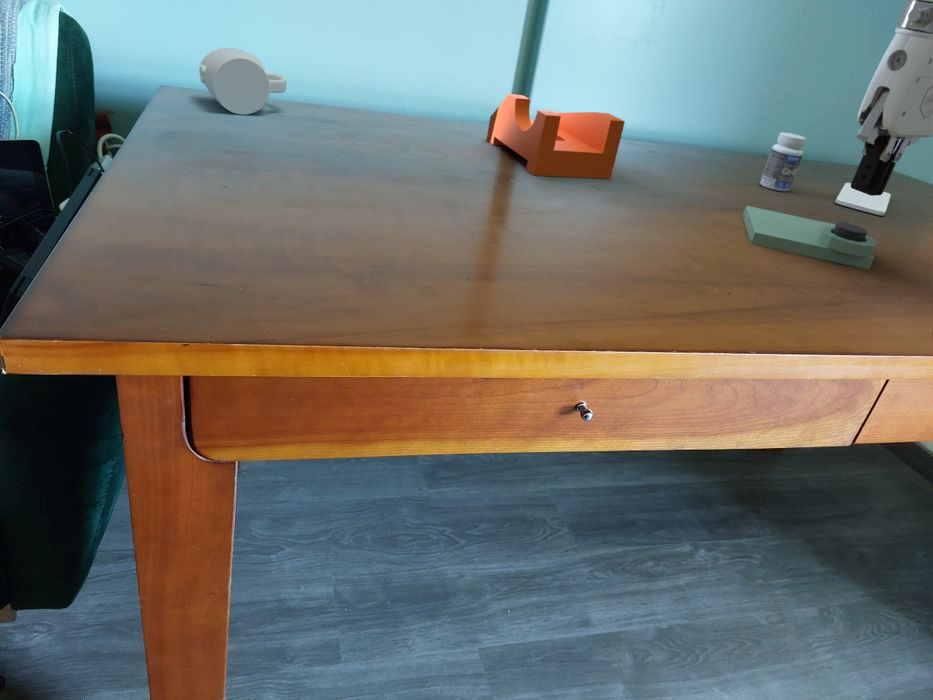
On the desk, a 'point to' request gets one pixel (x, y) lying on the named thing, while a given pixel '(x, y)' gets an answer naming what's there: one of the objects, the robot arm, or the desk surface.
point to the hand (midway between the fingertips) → (865, 191)
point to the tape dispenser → (557, 139)
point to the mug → (239, 80)
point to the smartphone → (863, 200)
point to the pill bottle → (783, 162)
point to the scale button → (850, 231)
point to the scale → (806, 238)
